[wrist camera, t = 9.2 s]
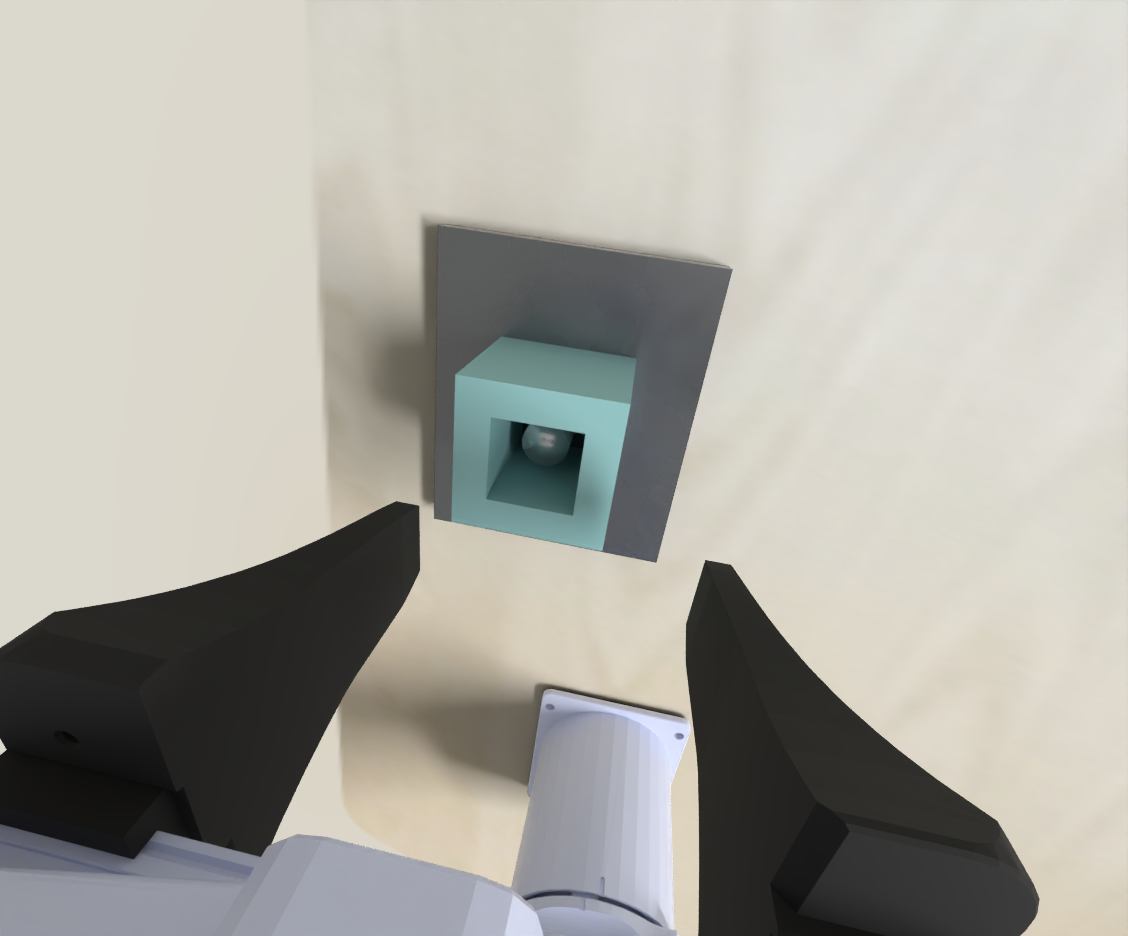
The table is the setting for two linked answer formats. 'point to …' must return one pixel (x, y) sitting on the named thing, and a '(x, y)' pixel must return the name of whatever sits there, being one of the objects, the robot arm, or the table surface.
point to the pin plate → (589, 322)
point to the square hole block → (551, 399)
